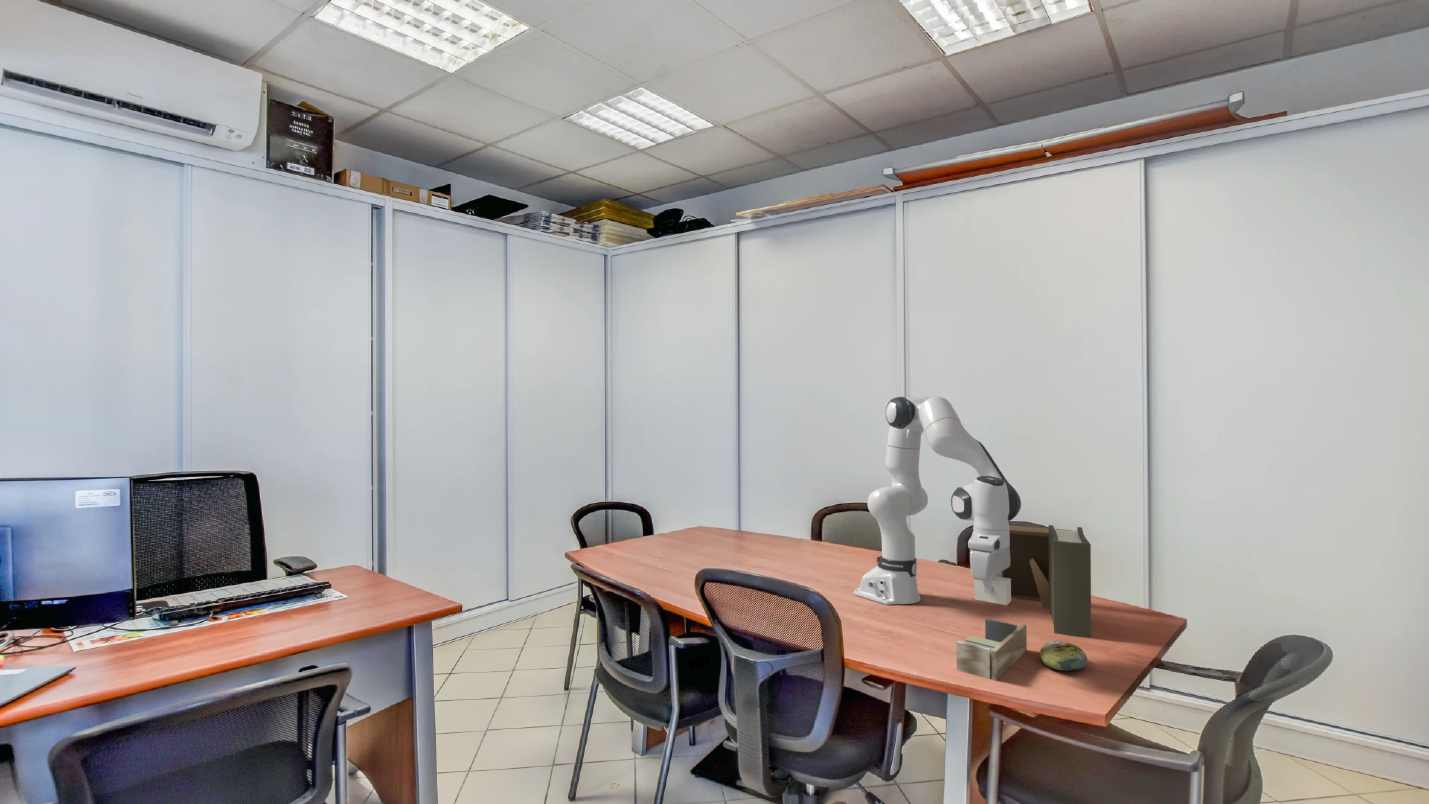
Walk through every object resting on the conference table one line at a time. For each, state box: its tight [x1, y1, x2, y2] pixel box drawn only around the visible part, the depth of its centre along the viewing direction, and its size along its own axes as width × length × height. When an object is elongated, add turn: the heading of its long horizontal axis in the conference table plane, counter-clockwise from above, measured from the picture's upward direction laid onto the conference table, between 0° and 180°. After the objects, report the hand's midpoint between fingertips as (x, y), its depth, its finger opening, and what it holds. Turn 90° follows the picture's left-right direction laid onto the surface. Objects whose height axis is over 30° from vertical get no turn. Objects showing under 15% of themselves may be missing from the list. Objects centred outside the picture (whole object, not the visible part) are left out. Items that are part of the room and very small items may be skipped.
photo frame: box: [1001, 525, 1074, 610], centre depth 208 cm, size 15×22×25 cm
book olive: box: [964, 635, 1001, 648], centre depth 160 cm, size 8×4×6 cm, turn 48°
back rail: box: [956, 623, 1028, 682], centre depth 163 cm, size 10×25×7 cm, turn 138°
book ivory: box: [973, 576, 1012, 606], centre depth 165 cm, size 8×4×6 cm, turn 48°
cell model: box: [1039, 640, 1088, 672], centre depth 159 cm, size 10×8×14 cm
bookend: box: [984, 618, 1018, 642], centre depth 172 cm, size 8×7×7 cm
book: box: [1048, 524, 1092, 638], centre depth 188 cm, size 22×9×28 cm, turn 155°
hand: (992, 590), depth 165 cm, fingers closed on book ivory, 4 cm apart
